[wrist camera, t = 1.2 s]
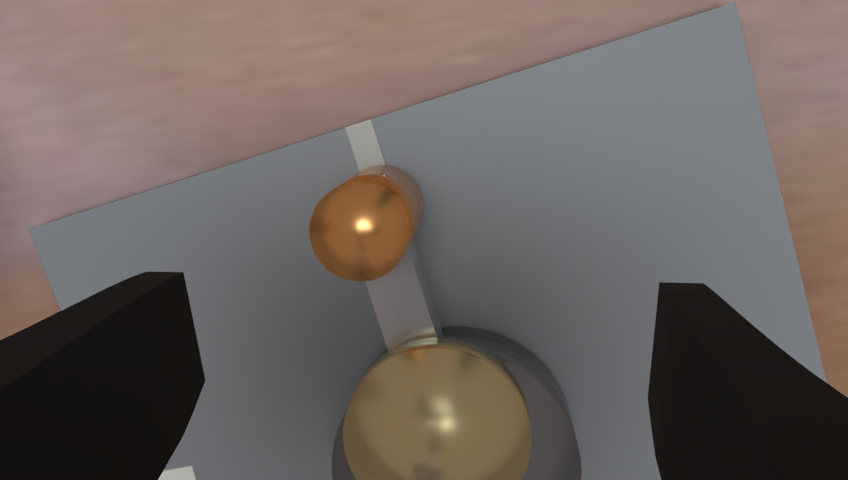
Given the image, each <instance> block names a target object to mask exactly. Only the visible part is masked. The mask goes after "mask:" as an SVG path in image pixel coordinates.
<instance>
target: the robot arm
mask: <svg viewBox="0 0 848 480" xmlns="http://www.w3.org/2000/svg"><path fill="white" fill-rule="evenodd" d="M204 383H205V376H204V371H203V366H202V361H201V356H200V351H199V346H198V341H197V336H196V332H195V327H194V322H193V317H192V312H191V307H190V302H189V297H188V292H187V287H186V282H185V277H184V272H148V271H147V272H144V273H141V274H138V275H135V276H133V277H130V278H128V279H126V280H123V281H121V282H119V283H117V284H114V285H112V286H110V287H108V288H106V289H104V290H102V291H100V292H98V293H96V294H94V295H92V296H90V297H88V298H86V299H84V300H82V301H80V302H78V303H76V304H74V305H72V306H70V307H68V308H66V309H64V310H62V311H60V312H58V313H56V314H54V315H52V316H50V317H48V318H46V319H44V320H42V321H40V322H38V323H36V324H34V325H32V326H30V327H28V328H26V329H24V330H22V331H19V332H17V333H15V334H13V335H11V336H9V337H7V338H4V339H2V340H0V480H158V479H159V477H160V476H161V474H162V472H163V470H164V469H165V467H166V465H167V463H168V462H169V460H170V458H171V456H172V455H173V453H174V451H175V450H176V448H177V446H178V444H179V442H180V441H181V439H182V437H183V435H184V433H185V431H186V428H187V426H188V424H189V421H190V419H191V417H192V414H193V412H194V409H195V407H196V404H197V401H198V399H199V396H200V393H201V391H202V388H203V385H204ZM648 405H649V413H650V421H651V429H652V436H653V443H654V450H655V457H656V461H657V465H658V469H659V473H660V477H661V480H848V398H847V397H846V396H844V395H843V394H841V393H840V392H839V391H837V390H836V389H834V388H833V387H832V386H830V385H829V384H827V383H826V382H825V381H823V380H822V379H820V378H819V377H818V376H816V375H815V374H813V373H812V372H811V371H809V370H808V369H807V368H805V367H804V366H803V365H801V364H800V363H799V362H797V361H796V360H795V359H794V358H792V357H791V356H790V355H788V354H787V353H786V352H785V351H783V350H782V349H781V348H780V347H778V346H777V345H776V344H775V343H774V342H772V341H771V340H770V339H769V338H767V337H766V336H765V335H764V334H763V333H762V332H760V331H759V330H758V329H757V328H756V327H754V326H753V325H752V324H751V323H750V322H749V321H747V320H746V319H745V318H744V317H743V316H742V315H740V314H739V313H738V312H737V311H736V310H735V309H734V308H732V307H731V306H730V305H729V304H728V303H727V302H726V301H724V300H723V299H722V298H721V297H720V296H719V295H717V294H716V293H715V292H714V291H713V290H711V289H710V288H709V287H708V286H706V285H705V284H704V283H668V282H659V291H658V301H657V311H656V321H655V331H654V340H653V350H652V360H651V370H650V380H649V390H648Z"/></svg>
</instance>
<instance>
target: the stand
mask: <svg viewBox="0 0 848 480" xmlns="http://www.w3.org/2000/svg"><path fill="white" fill-rule="evenodd" d="M375 165H390V166H394V167H397V168H400V169H402V170H403V171H405V172H407V173H408V174H409V175H410V176H411V177H412V178H413V179H414V180H415V181H416V182H417V184H418V186H419V187H420V190H421V192H422V195H423V200H424V212H423V217H422V220H421V222H420V224H419V226H418V228H417V230H416V232H415V234H414V236H413V238H412V239H413V242H414V245H415V249H416V252H417V255H418V258H419V261H420V264H421V267H422V270H423V273H424V276H425V280H426V283H427V286H428V289H429V292H430V295H431V298H432V301H433V304H434V307H435V310H436V314H437V317H438V320H439V323H440V326H441V327H451V326H459V327H472V328H478V329H484V330H488V331H491V332H494V333H497V334H500V335H502V336H505V337H507V338H509V339H511V340H513V341H515V342H517V343H518V344H520V345H522V346H523V347H525V348H526V349H528V350H529V351H530V352H531V353H533V354H534V355H535V356H536V357H538V358H539V359H540V361H541V362H542V363H543V364H544V365H545V366H546V367H547V368H548V369H549V370H550V372H551V373H552V375H553V376H554V377H555V379H556V380H557V382H558V384H559V385H560V387H561V389H562V391H563V393H564V395H565V398H566V401H567V403H568V406H569V410H570V414H571V418H572V423H573V427H574V431H575V435H576V439H577V443H578V448H579V452H580V457H581V470H582V475H581V480H661V477H660V473H659V469H658V465H657V461H656V457H655V450H654V443H653V436H652V429H651V421H650V413H649V405H648V390H649V380H650V370H651V360H652V350H653V340H654V331H655V321H656V311H657V301H658V291H659V282H668V283H704V284H705V285H706V286H708V287H709V288H710V289H711V290H713V291H714V292H715V293H716V294H717V295H719V296H720V297H721V298H722V299H723V300H724V301H726V302H727V303H728V304H729V305H730V306H731V307H732V308H734V309H735V310H736V311H737V312H738V313H739V314H740V315H742V316H743V317H744V318H745V319H746V320H747V321H749V322H750V323H751V324H752V325H753V326H754V327H756V328H757V329H758V330H759V331H760V332H762V333H763V334H764V335H765V336H766V337H767V338H769V339H770V340H771V341H772V342H774V343H775V344H776V345H777V346H778V347H780V348H781V349H782V350H783V351H785V352H786V353H787V354H788V355H790V356H791V357H792V358H794V359H795V360H796V361H797V362H799V363H800V364H801V365H803V366H804V367H805V368H807V369H808V370H809V371H811V372H812V373H813V374H815V375H816V376H818V377H819V378H820V379H822V380H823V381H825V382H826V383H827V381H826V377H825V373H824V369H823V364H822V360H821V356H820V352H819V348H818V344H817V339H816V335H815V331H814V327H813V323H812V319H811V315H810V310H809V306H808V302H807V298H806V294H805V290H804V285H803V281H802V277H801V273H800V269H799V265H798V260H797V256H796V252H795V248H794V244H793V240H792V235H791V231H790V227H789V223H788V219H787V215H786V211H785V206H784V202H783V198H782V194H781V190H780V186H779V181H778V177H777V173H776V169H775V165H774V161H773V156H772V152H771V148H770V144H769V140H768V136H767V131H766V127H765V123H764V119H763V115H762V111H761V106H760V102H759V98H758V94H757V90H756V86H755V82H754V77H753V73H752V69H751V65H750V61H749V57H748V52H747V48H746V44H745V40H744V36H743V32H742V27H741V23H740V19H739V15H738V11H737V7H736V2H734V3H730V4H727V5H724V6H721V7H718V8H715V9H712V10H709V11H706V12H702V13H699V14H696V15H693V16H690V17H687V18H684V19H681V20H678V21H675V22H671V23H668V24H665V25H662V26H659V27H656V28H653V29H650V30H647V31H643V32H640V33H637V34H634V35H631V36H628V37H625V38H622V39H619V40H615V41H612V42H609V43H606V44H603V45H600V46H597V47H594V48H591V49H587V50H584V51H581V52H578V53H575V54H572V55H569V56H566V57H563V58H559V59H556V60H553V61H550V62H547V63H544V64H541V65H538V66H535V67H531V68H528V69H525V70H522V71H519V72H516V73H513V74H510V75H507V76H504V77H500V78H497V79H494V80H491V81H488V82H485V83H482V84H479V85H476V86H472V87H469V88H466V89H463V90H460V91H457V92H454V93H451V94H448V95H444V96H441V97H438V98H435V99H432V100H429V101H426V102H423V103H420V104H416V105H413V106H410V107H407V108H404V109H401V110H398V111H395V112H392V113H388V114H385V115H382V116H379V117H376V118H373V119H370V120H367V121H364V122H360V123H357V124H354V125H351V126H348V127H345V128H342V129H339V130H336V131H333V132H329V133H326V134H323V135H320V136H317V137H314V138H311V139H308V140H305V141H301V142H298V143H295V144H292V145H289V146H286V147H283V148H280V149H277V150H273V151H270V152H267V153H264V154H261V155H258V156H255V157H252V158H249V159H245V160H242V161H239V162H236V163H233V164H230V165H227V166H224V167H221V168H217V169H214V170H211V171H208V172H205V173H202V174H199V175H196V176H193V177H189V178H186V179H183V180H180V181H177V182H174V183H171V184H168V185H165V186H162V187H158V188H155V189H152V190H149V191H146V192H143V193H140V194H137V195H134V196H130V197H127V198H124V199H121V200H118V201H115V202H112V203H109V204H106V205H102V206H99V207H96V208H93V209H90V210H87V211H84V212H81V213H78V214H74V215H71V216H68V217H65V218H62V219H59V220H56V221H53V222H50V223H46V224H43V225H40V226H37V227H34V228H31V229H28V230H29V233H30V235H31V237H32V240H33V242H34V245H35V247H36V250H37V252H38V255H39V257H40V260H41V262H42V265H43V267H44V269H45V272H46V274H47V277H48V279H49V282H50V284H51V287H52V289H53V292H54V294H55V297H56V299H57V302H58V304H59V306H60V309H61V311H62V310H64V309H66V308H68V307H70V306H72V305H74V304H76V303H78V302H80V301H82V300H84V299H86V298H88V297H90V296H92V295H94V294H96V293H98V292H100V291H102V290H104V289H106V288H108V287H110V286H112V285H114V284H117V283H119V282H121V281H123V280H126V279H128V278H130V277H133V276H135V275H138V274H141V273H144V272H147V271H148V272H184V277H185V282H186V287H187V292H188V297H189V302H190V307H191V312H192V317H193V322H194V327H195V332H196V336H197V341H198V346H199V351H200V356H201V361H202V366H203V371H204V376H205V383H204V385H203V388H202V391H201V393H200V396H199V399H198V401H197V404H196V407H195V409H194V412H193V414H192V417H191V419H190V421H189V424H188V426H187V428H186V431H185V433H184V435H183V437H182V439H181V441H180V442H179V444H178V446H177V448H176V450H175V451H174V453H173V455H172V456H171V458H170V460H169V462H168V463H167V465H166V467H165V469H164V470H163V472H162V474H161V476H160V477H159V479H158V480H333V478H332V451H333V444H334V440H335V436H336V433H337V429H338V427H339V424H340V422H341V420H342V418H343V416H344V413H345V411H346V409H347V407H348V404H349V402H350V400H351V398H352V395H353V393H354V391H355V389H356V386H357V384H358V382H359V381H360V379H361V377H362V376H363V374H364V373H365V371H366V370H367V369H368V367H369V366H370V365H371V364H372V363H373V361H374V360H375V359H376V358H377V357H378V356H380V355H381V354H382V353H383V352H384V351H385V350H386V349H387V346H386V343H385V340H384V337H383V334H382V331H381V328H380V325H379V322H378V319H377V316H376V313H375V310H374V307H373V304H372V301H371V298H370V295H369V292H368V289H367V286H366V283H365V281H364V282H357V281H350V280H346V279H343V278H341V277H338V276H336V275H335V274H333V273H331V272H330V271H329V270H328V269H326V268H325V267H324V266H323V265H322V264H321V262H320V261H319V260H318V258H317V257H316V255H315V253H314V251H313V248H312V245H311V242H310V235H309V227H310V220H311V216H312V214H313V211H314V209H315V207H316V206H317V204H318V203H319V201H320V200H321V199H322V198H323V197H324V196H325V195H326V194H327V193H329V192H330V191H331V190H333V189H335V188H336V187H338V186H339V185H341V184H342V183H344V182H345V181H347V180H348V179H350V178H351V177H353V176H354V175H356V174H357V173H359V172H360V171H362V170H364V169H366V168H368V167H371V166H375Z"/></svg>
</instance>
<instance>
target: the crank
mask: <svg viewBox="0 0 848 480" xmlns="http://www.w3.org/2000/svg"><path fill="white" fill-rule="evenodd" d="M423 212H424V200H423V195H422V192H421V190H420V187H419V186H418V184H417V182H416V181H415V180H414V179H413V178H412V177H411V176H410V175H409V174H408V173H407V172H405V171H403V170H402V169H400V168H397V167H394V166H390V165H375V166H371V167H368V168H366V169H364V170H362V171H360V172H359V173H357V174H356V175H354V176H353V177H351V178H350V179H348V180H347V181H345V182H344V183H342V184H341V185H339V186H338V187H336V188H335V189H333V190H331V191H330V192H329V193H327V194H326V195H325V196H324V197H323V198H322V199H321V200H320V201H319V203H318V204H317V206H316V207H315V209H314V211H313V214H312V216H311V220H310V227H309V235H310V242H311V245H312V248H313V251H314V253H315V255H316V257H317V258H318V260H319V261H320V262H321V264H322V265H323V266H324V267H325V268H326V269H328V270H329V271H330V272H331V273H333V274H335V275H336V276H338V277H341V278H343V279H346V280H350V281H357V282H364V281H365V283H366V286H367V289H368V292H369V295H370V298H371V301H372V304H373V307H374V310H375V313H376V316H377V319H378V322H379V325H380V328H381V331H382V334H383V337H384V340H385V343H386V346H387V349H386V350H385V351H384V352H383V353H382V354H381V355H380V356H378V357H377V358H376V359H375V360H374V361H373V363H372V364H371V365H370V366H369V367H368V369H367V370H366V371H365V373H364V374H363V376H362V377H361V379H360V381H359V382H358V384H357V386H356V389H355V391H354V393H353V395H352V398H351V400H350V402H349V404H348V407H347V409H346V411H345V413H344V416H343V418H342V420H341V422H340V424H339V427H338V429H337V433H336V436H335V440H334V444H333V451H332V478H333V480H581V475H582V470H581V457H580V452H579V448H578V443H577V439H576V435H575V431H574V427H573V423H572V418H571V414H570V410H569V406H568V403H567V401H566V398H565V395H564V393H563V391H562V389H561V387H560V385H559V384H558V382H557V380H556V379H555V377H554V376H553V375H552V373H551V372H550V370H549V369H548V368H547V367H546V366H545V365H544V364H543V363H542V362H541V361H540V359H539V358H538V357H536V356H535V355H534V354H533V353H531V352H530V351H529V350H528V349H526V348H525V347H523V346H522V345H520V344H518V343H517V342H515V341H513V340H511V339H509V338H507V337H505V336H502V335H500V334H497V333H494V332H491V331H488V330H484V329H478V328H472V327H459V326H451V327H441V326H440V323H439V320H438V317H437V314H436V310H435V307H434V304H433V301H432V298H431V295H430V292H429V289H428V286H427V283H426V280H425V276H424V273H423V270H422V267H421V264H420V261H419V258H418V255H417V252H416V249H415V245H414V242H413V239H412V238H413V236H414V234H415V232H416V230H417V228H418V226H419V224H420V222H421V220H422V217H423Z"/></svg>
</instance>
